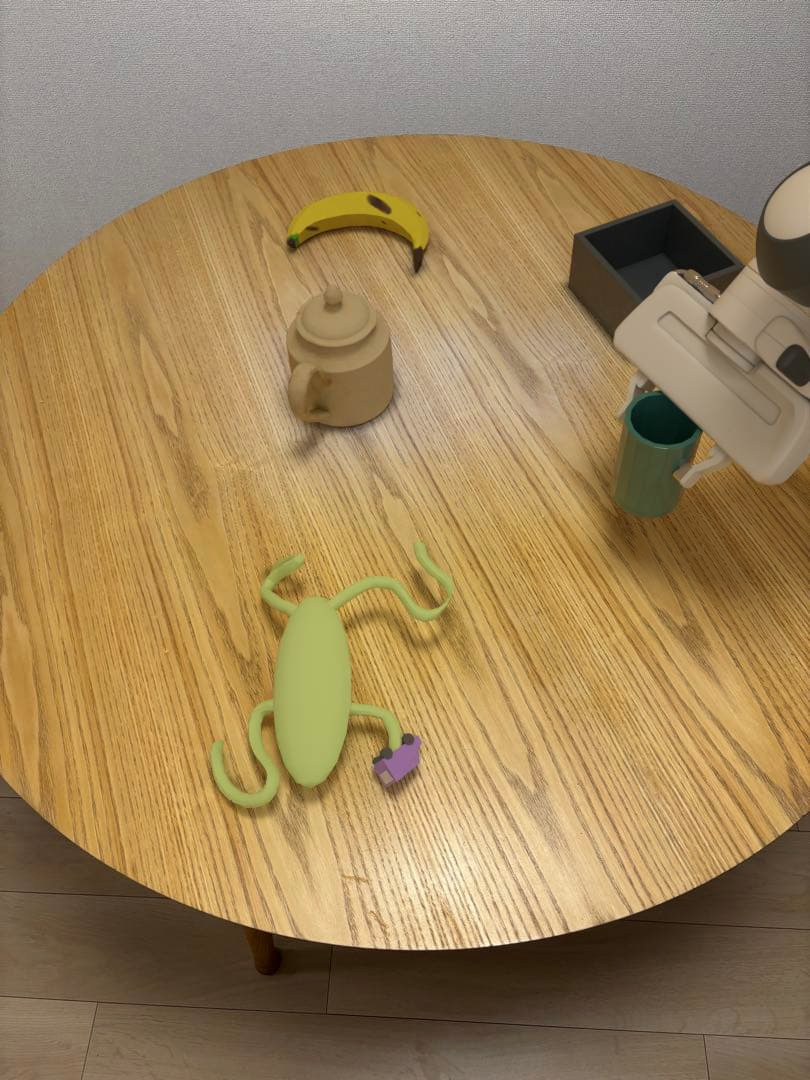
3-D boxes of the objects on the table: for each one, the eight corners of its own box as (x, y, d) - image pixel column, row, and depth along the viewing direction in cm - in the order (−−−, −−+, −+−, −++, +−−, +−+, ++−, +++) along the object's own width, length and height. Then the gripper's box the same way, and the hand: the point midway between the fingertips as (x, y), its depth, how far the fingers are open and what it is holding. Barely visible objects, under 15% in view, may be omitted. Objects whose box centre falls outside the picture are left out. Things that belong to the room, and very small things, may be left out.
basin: (664, 251, 123) (675, 198, 116) (730, 318, 115) (746, 266, 109) (567, 286, 120) (574, 233, 113) (629, 357, 112) (639, 306, 106)
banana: (273, 199, 125) (303, 289, 118) (406, 163, 126) (442, 250, 120) (280, 225, 129) (309, 313, 123) (408, 190, 130) (443, 275, 124)
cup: (669, 458, 95) (689, 385, 87) (691, 512, 92) (714, 442, 83) (602, 468, 95) (615, 396, 87) (621, 524, 91) (637, 454, 83)
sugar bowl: (401, 450, 106) (394, 347, 94) (297, 460, 106) (276, 357, 94) (390, 351, 115) (383, 244, 102) (295, 360, 114) (275, 254, 102)
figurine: (462, 572, 97) (463, 538, 92) (413, 840, 82) (411, 817, 77) (279, 547, 99) (270, 514, 95) (199, 804, 84) (184, 779, 80)
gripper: (665, 247, 86) (562, 373, 91) (841, 395, 75) (713, 527, 81) (695, 269, 90) (596, 387, 96) (864, 410, 80) (742, 534, 86)
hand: (650, 452), depth 88 cm, fingers closed on cup, 6 cm apart
